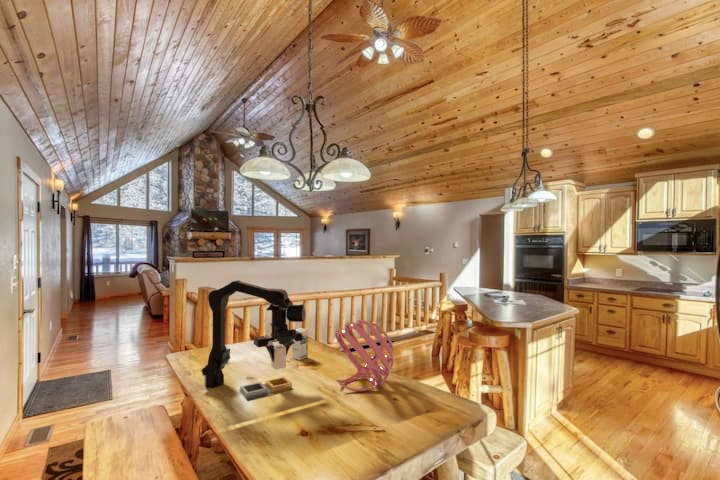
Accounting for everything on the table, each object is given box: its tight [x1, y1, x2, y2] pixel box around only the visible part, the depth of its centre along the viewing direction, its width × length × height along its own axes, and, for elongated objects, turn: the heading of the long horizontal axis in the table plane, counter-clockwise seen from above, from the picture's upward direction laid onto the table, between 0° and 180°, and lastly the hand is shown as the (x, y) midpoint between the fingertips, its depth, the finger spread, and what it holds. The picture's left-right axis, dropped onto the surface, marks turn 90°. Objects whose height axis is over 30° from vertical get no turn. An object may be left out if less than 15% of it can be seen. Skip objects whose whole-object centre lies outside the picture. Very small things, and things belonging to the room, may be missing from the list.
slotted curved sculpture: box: [334, 319, 395, 393], centre depth 142 cm, size 28×28×27 cm
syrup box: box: [291, 327, 309, 361], centre depth 178 cm, size 6×6×14 cm
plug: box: [270, 344, 287, 370], centre depth 138 cm, size 4×4×8 cm
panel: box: [238, 376, 294, 402], centre depth 135 cm, size 18×12×3 cm, turn 125°
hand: (278, 360), depth 138 cm, fingers closed on plug, 4 cm apart
